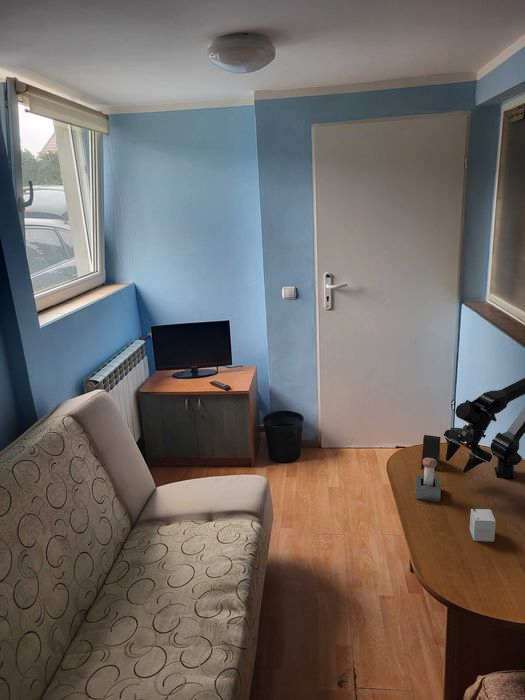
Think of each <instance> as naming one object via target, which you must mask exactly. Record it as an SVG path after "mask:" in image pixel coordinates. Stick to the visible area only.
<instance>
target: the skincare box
mask: <svg viewBox="0 0 525 700" xmlns="http://www.w3.org/2000/svg"><path fill="white" fill-rule="evenodd" d="M496 523H497V522H496V519H495V516H494V513H493V511H492V510H491V509H487V508H486V509H485V508H484V509H483V508H471V509H470V519H469V530H470V531H469V532H470V535H471V537H472V541H476V542H495V533H496V526H497V525H496Z"/></svg>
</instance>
